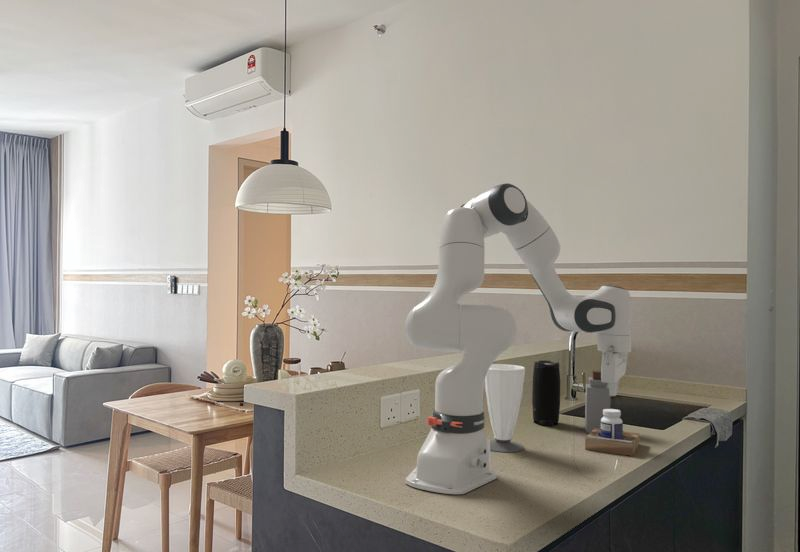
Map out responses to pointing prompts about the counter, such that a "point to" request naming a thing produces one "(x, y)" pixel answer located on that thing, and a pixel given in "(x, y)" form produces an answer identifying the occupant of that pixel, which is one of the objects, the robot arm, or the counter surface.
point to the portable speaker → (546, 392)
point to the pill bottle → (612, 424)
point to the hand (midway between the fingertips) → (613, 395)
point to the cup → (504, 404)
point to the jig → (612, 443)
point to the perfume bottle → (596, 401)
